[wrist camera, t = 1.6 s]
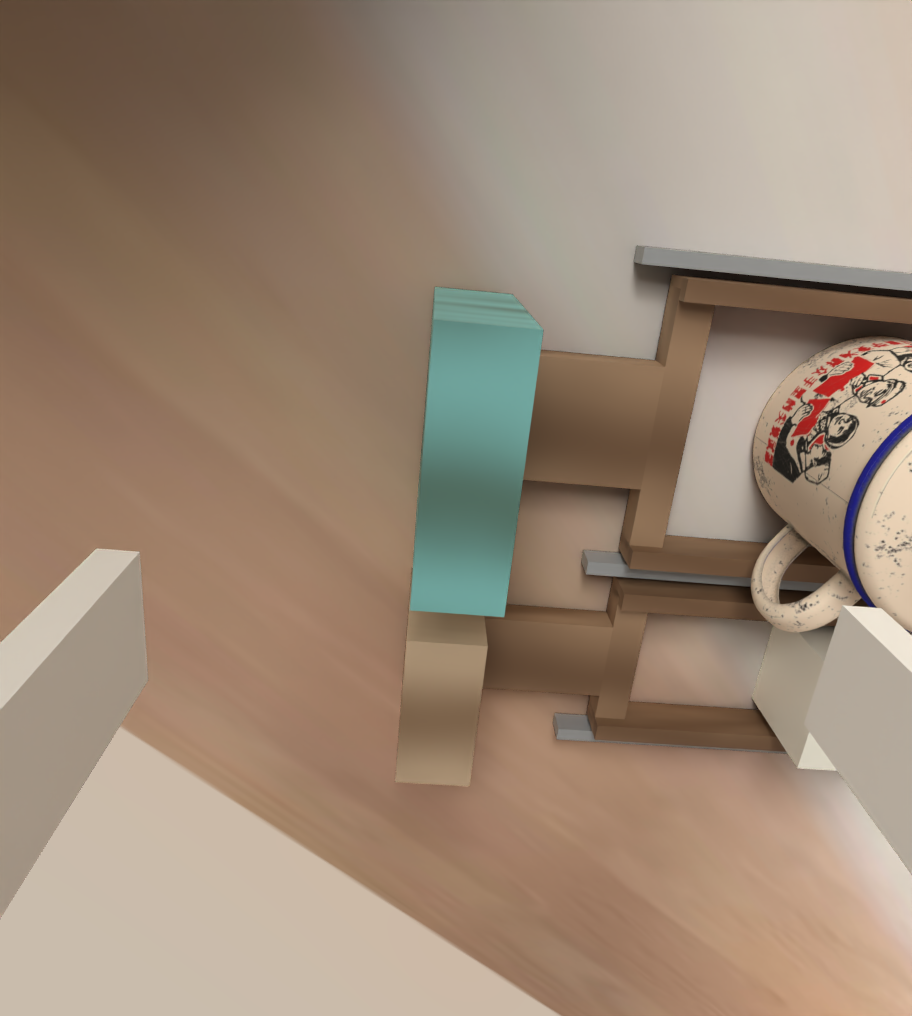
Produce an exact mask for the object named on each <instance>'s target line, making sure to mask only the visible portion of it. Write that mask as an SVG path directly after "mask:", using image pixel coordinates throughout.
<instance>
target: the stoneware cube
mask: <svg viewBox="0 0 912 1016" xmlns="http://www.w3.org/2000/svg"><path fill="white" fill-rule="evenodd" d="M834 629H835V626H821V627H819V628H816V629H813V630H809V631H804V632H787V631H783V630H781V629H778V628H776V627H775V626H774V625H773V627H772V630H771V634H770V637H769V641H768V644H767V648H766V651H765V654H764V658H763V661H762V665H761V668H760V672H759V675H758V678H757V682H756V685H755V689H754V692H753V696H752V699H753V700H754V702H755V704H756V705H757V707H758V708H759V710H760V711H761V713H762V714H763V716H764V718H765V719H766V721H767V722H768V724H769V725H770V727H771V728H772V730H773V732H774V733H775V735H776V736H777V738H778V739H779V741H780V742H781V744H782V745H783V747H784V749H785V750H786V752H787V753H788V755H789V756H790V758H791V759H792V761H793V763H794V764H795V766H796V767H797V768H799V769H816V770H832V771H837V770H836V768H835V767H834V766H833V764H832V763H831V761H830V760H829V759H828V757H827V756H826V754H825V753H824V752H823V750H822V749H821V747H820V746H819V745H818V743H817V742H816V740H815V739H814V738H813V736H812V735H811V733H810V732H809V731H808V729H807V728H806V726H805V725H804V722H805V719H806V716H807V713H808V709H809V706H810V703H811V700H812V697H813V694H814V691H815V688H816V685H817V682H818V679H819V676H820V673H821V669H822V666H823V663H824V660H825V657H826V654H827V651H828V648H829V645H830V642H831V639H832V636H833V633H834Z"/></svg>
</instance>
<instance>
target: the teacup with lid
mask: <svg viewBox="0 0 912 1016" xmlns="http://www.w3.org/2000/svg"><path fill="white" fill-rule="evenodd" d="M753 465H754V472H755V476H756V480H757V483H758V486H759V488H760V491H761V492H762V494H763V496H764V498H765V499H766V501H767V502H768V504H769V505H770V506H771V508H772V509H773V510H774V511H775V512H776V513H777V514H778V515H779V516H780V517H781V518H782V519H784V520H785V521H786V522H787V523H788V524H787V525H786V526H785V527H784V528H783V529H782V530H781V531H780V532H779V533H778V534H777V535H776V536H775V537H774V538H773V539H772V540H771V541H770V542H769V543H768V544H767V546H766V547H765V548H764V550H763V551H762V552H761V554H760V556H759V557H758V559H757V561H756V564H755V566H754V569H753V573H752V578H751V594H752V598H753V601H754V604H755V606H756V608H757V609H758V611H759V612H760V614H761V615H762V616H763V617H764V618H765V619H766V620H767V621H769V622H770V623H771V624H772V625H774V626H775V627H776V628H778V629H781V630H783V631H787V632H804V631H809V630H813V629H816V628H819V627H821V626H824V625H826V624H828V623H829V622H831V621H833V620H834V619H836V618H837V617H839V614H840V611H841V608H842V605H846V606H853V605H854V604H855V603H856V602H857V601H859V600H860V599H861V598H862V599H863V600H864V601H865V602H866V603H867V605H868V606H869V607H872V608H881V609H883V610H884V611H885V612H886V613H887V614H888V615H889V616H890V617H892V618H893V619H894V620H895V621H896V622H897V623H898V624H899V625H901V626H902V627H903V628H904V629H905V630H906V631H908V632H911V633H912V341H909V340H906V339H901V338H896V337H887V336H870V337H861V338H856V339H851V340H848V341H844V342H841V343H838V344H836V345H833V346H831V347H829V348H827V349H825V350H823V351H821V352H819V353H817V354H816V355H814V356H812V357H811V358H809V359H808V360H806V361H805V362H803V363H802V364H801V365H800V366H798V367H797V368H796V369H795V370H794V371H793V372H791V374H790V375H789V376H788V377H787V378H786V379H785V380H784V381H783V382H782V383H781V384H780V386H779V387H778V388H777V389H776V391H775V392H774V394H773V395H772V396H771V398H770V400H769V401H768V403H767V405H766V407H765V409H764V411H763V413H762V415H761V418H760V420H759V423H758V426H757V430H756V434H755V439H754V446H753ZM810 545H812V546H813V547H815V548H816V549H817V550H818V551H819V552H820V553H821V554H822V555H823V556H825V557H826V558H827V559H828V560H829V561H830V562H831V563H832V564H833V565H835V566H836V567H837V568H838V569H839V571H838V572H837V573H836V574H835V575H834V576H833V577H832V578H830V579H829V580H828V581H827V582H826V583H825V584H823V585H822V586H821V587H820V588H818V589H817V590H816V591H815V592H813V593H812V594H810V595H809V596H807V597H805V598H804V599H801V600H799V601H796V602H793V603H788V604H780V600H779V588H780V583H781V580H782V577H783V575H784V573H785V571H786V570H787V568H788V567H789V566H790V564H791V563H792V562H793V561H794V560H795V559H796V558H797V557H798V556H799V555H800V554H801V553H802V552H803V551H804V550H805V549H806V548H807V547H808V546H810Z"/></svg>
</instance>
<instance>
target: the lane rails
mask: <svg viewBox="0 0 912 1016" xmlns="http://www.w3.org/2000/svg"><path fill="white" fill-rule="evenodd" d="M634 262H636V263H639V264H646V265H656V266H666V267H676V268H686V269H696V270H705V271H715V272H725V273H735V274H745V275H755V276H765V277H775V278H785V279H795V280H805V281H815V282H825V283H835V284H845V285H855V286H865V287H875V288H885V289H895V290H905V291H912V273H904V272H894V271H884V270H874V269H864V268H855V267H845V266H835V265H825V264H815V263H805V262H795V261H786V260H776V259H766V258H756V257H746V256H736V255H726V254H717V253H707V252H697V251H687V250H677V249H667V248H657V247H648V246H638V245H637V246H636V252H635V257H634ZM581 563H582V566H583V568H584V570H585V573H586V574H588V575H602V576H615V577H628V578H641V579H655V580H668V581H681V582H694V583H708V584H721V585H734V586H748V587H751V578H745V577H732V576H719V575H706V574H693V573H679V572H666V571H653V570H640V569H629V567H628V565H627V563H626V561H625V559H624V557H623V555H622V554H621V553H617V552H604V551H591V550H583V554H582V560H581ZM823 584H824V583H811V582H798V581H785V580H781V583H780V588H779V589H787V590H801V591H814V592H815V591H816V590H817V589H818V588H820V587H821V586H822V585H823ZM553 726H554V730H555V735H556V739H559V740H575V741H591V742H607V743H623V744H639V745H655V746H671V747H687V748H703V749H720V750H736V751H752V752H768V753H784V754H788V753H787V752H780V751H764V750H748V749H732V748H716V747H700V746H684V745H668V744H652V743H636V742H620V741H604V740H595V739H594V735H593V732H592V729H591V725H590V722H589V719H588V715H577V714H561V713H555V714H554V720H553Z"/></svg>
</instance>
